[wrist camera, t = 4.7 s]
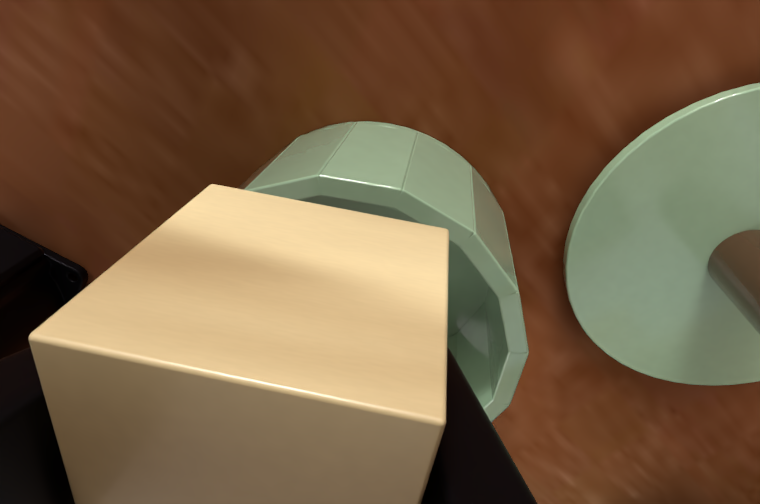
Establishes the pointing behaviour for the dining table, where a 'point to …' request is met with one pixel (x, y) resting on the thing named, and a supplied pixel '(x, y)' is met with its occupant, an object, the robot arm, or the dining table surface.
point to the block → (255, 359)
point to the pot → (429, 207)
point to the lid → (676, 247)
